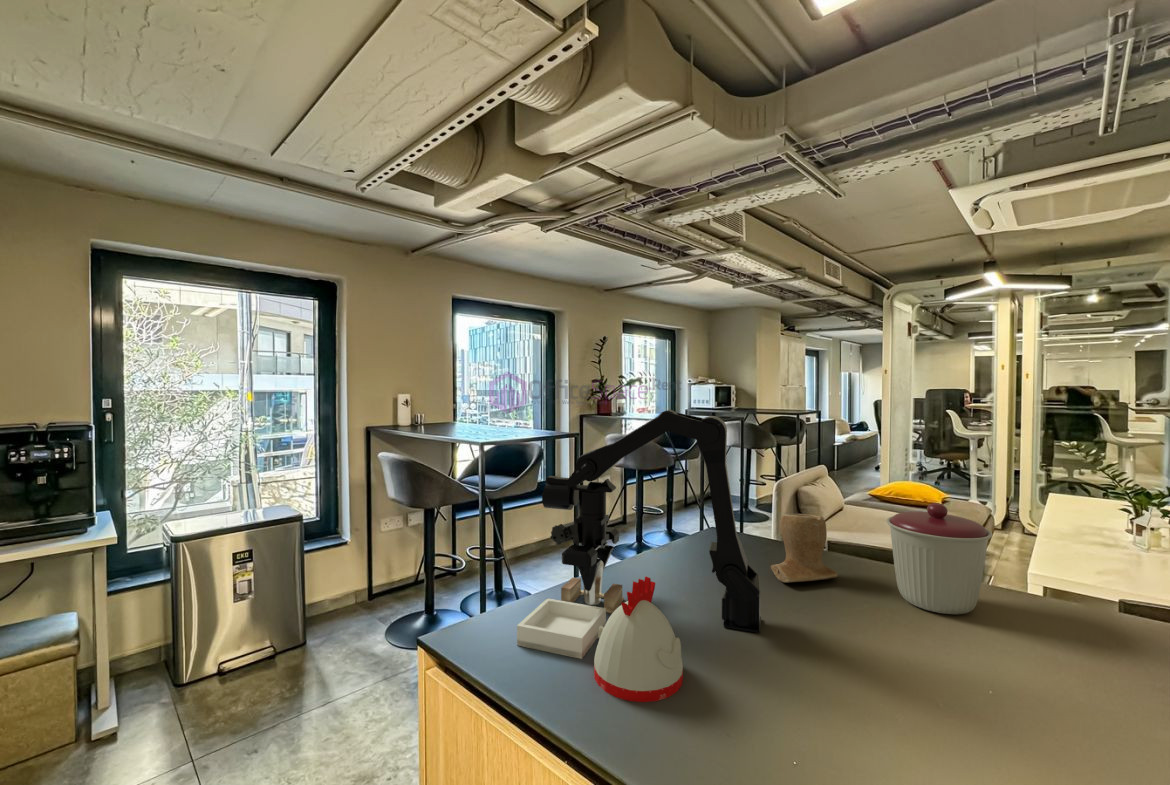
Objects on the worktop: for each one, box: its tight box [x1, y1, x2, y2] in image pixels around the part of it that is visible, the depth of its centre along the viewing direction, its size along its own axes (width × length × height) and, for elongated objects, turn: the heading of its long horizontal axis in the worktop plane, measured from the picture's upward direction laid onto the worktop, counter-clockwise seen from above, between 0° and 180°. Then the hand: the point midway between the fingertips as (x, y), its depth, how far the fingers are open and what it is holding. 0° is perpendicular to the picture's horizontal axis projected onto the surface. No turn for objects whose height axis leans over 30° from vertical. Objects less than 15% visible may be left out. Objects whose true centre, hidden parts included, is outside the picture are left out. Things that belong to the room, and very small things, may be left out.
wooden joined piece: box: [560, 577, 625, 614], centre depth 107 cm, size 11×7×4 cm, turn 69°
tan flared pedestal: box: [770, 513, 839, 583], centre depth 122 cm, size 15×12×15 cm
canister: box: [886, 502, 993, 615], centre depth 107 cm, size 18×18×21 cm
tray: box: [516, 598, 607, 660], centre depth 93 cm, size 12×12×4 cm
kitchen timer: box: [593, 576, 684, 703], centre depth 81 cm, size 14×14×15 cm
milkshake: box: [583, 558, 604, 606], centre depth 107 cm, size 4×5×10 cm
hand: (592, 585), depth 107 cm, fingers closed on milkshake, 4 cm apart
